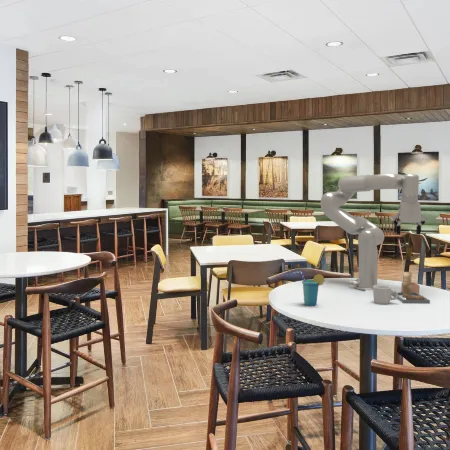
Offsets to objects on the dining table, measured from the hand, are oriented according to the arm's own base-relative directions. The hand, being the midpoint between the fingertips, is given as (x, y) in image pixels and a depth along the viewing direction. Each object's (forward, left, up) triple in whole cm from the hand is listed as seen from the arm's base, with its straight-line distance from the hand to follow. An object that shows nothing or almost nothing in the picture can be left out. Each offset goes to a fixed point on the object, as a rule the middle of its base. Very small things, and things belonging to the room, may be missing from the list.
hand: (408, 234), depth 230 cm
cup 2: (-18, -22, -30) cm, 41 cm away
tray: (-4, -14, -30) cm, 33 cm away
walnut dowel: (-4, -19, -29) cm, 35 cm away
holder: (+1, -2, -30) cm, 30 cm away
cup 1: (-53, -24, -30) cm, 65 cm away
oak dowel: (-4, -11, -29) cm, 32 cm away
